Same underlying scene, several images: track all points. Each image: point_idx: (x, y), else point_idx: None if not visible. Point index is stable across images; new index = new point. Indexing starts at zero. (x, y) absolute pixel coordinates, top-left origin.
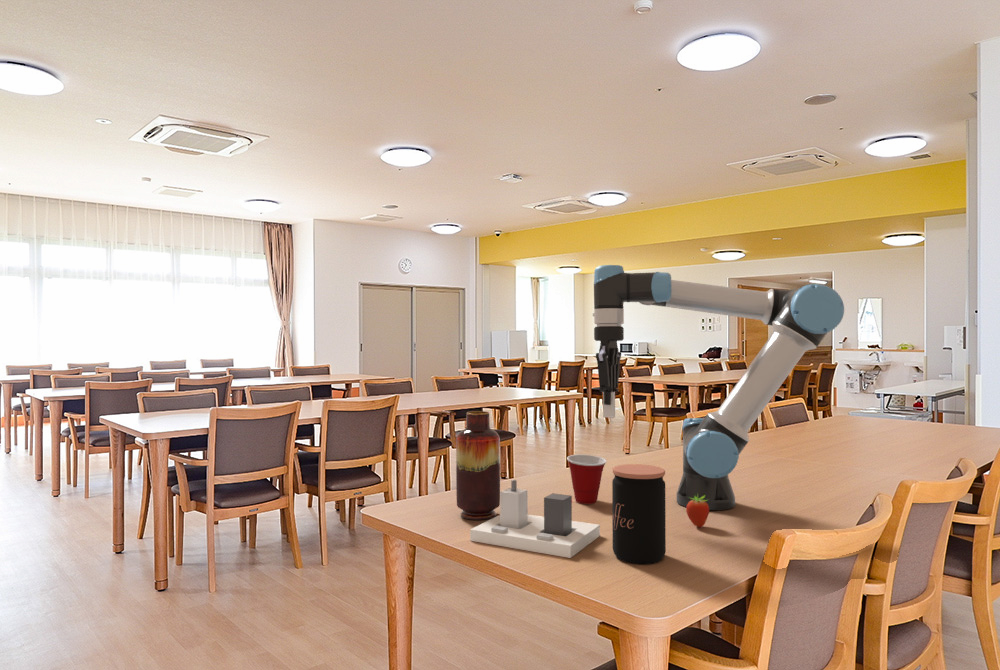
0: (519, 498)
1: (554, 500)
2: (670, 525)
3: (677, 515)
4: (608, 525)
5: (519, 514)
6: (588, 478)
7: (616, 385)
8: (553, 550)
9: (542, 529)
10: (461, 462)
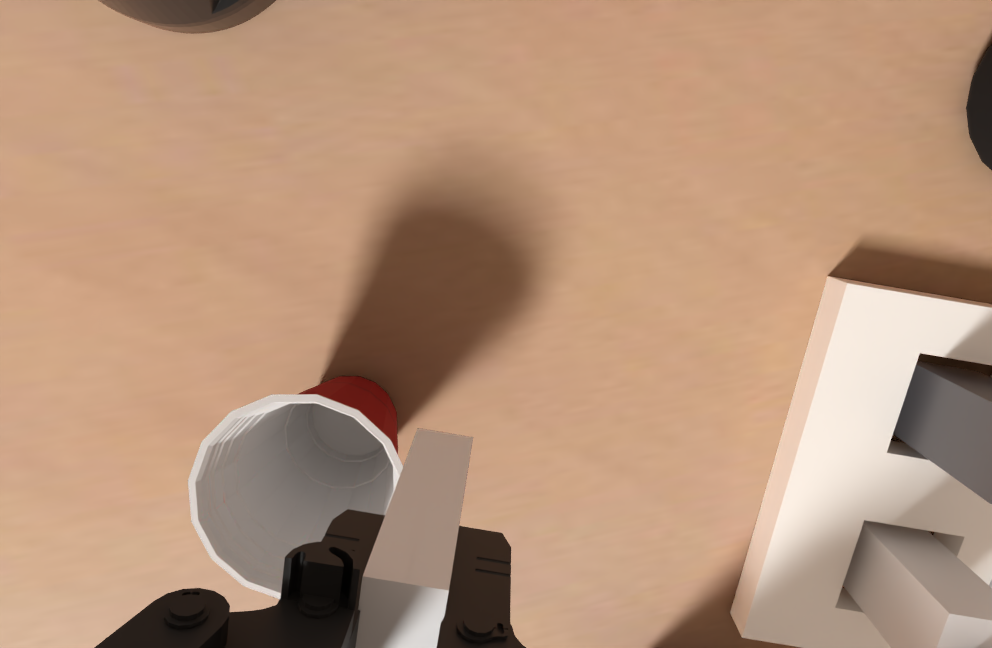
0: None
1: None
2: (611, 22)
3: (442, 7)
4: (680, 269)
5: (967, 572)
6: (391, 440)
7: (220, 630)
8: None
9: None
10: None
